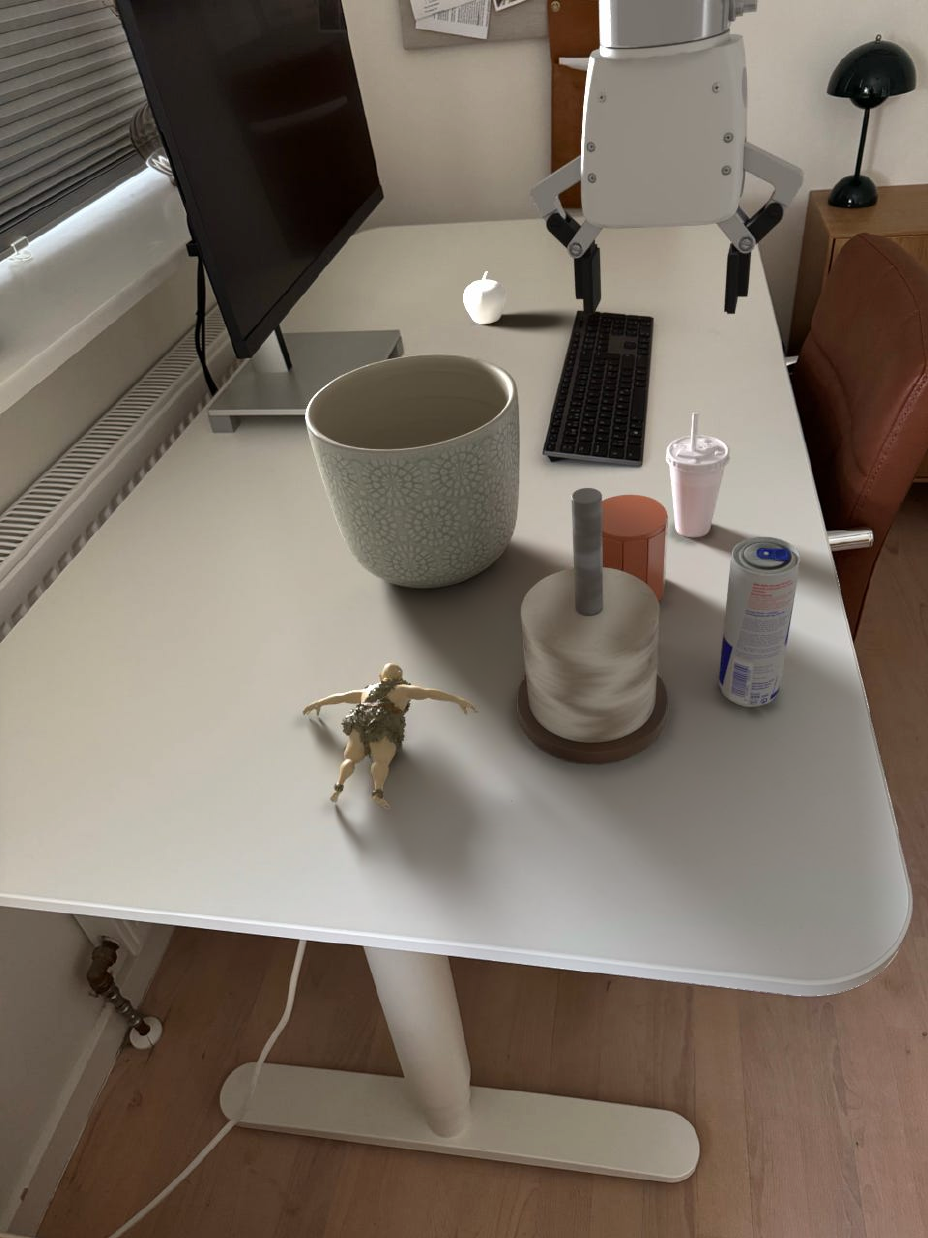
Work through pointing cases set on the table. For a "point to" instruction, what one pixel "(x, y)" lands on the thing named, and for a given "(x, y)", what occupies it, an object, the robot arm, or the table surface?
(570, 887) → the table surface
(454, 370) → the planter
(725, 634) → the beverage can
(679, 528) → the smoothie
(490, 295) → the plain white apple
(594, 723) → the towel holder
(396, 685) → the figurine
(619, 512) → the orange brown faceted cylinder
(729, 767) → the table surface
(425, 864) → the table surface
